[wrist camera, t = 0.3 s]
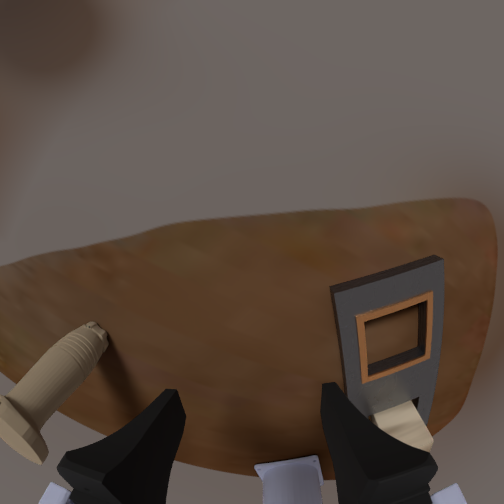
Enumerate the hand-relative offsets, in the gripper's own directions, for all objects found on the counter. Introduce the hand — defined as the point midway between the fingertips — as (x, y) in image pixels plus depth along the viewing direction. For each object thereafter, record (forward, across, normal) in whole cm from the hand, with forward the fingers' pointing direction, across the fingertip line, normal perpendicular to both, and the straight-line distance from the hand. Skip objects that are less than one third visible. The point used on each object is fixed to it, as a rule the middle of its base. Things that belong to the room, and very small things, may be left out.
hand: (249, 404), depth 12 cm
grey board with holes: (+10, -13, +9) cm, 19 cm away
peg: (+10, -14, +15) cm, 23 cm away
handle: (+10, +16, +2) cm, 19 cm away
